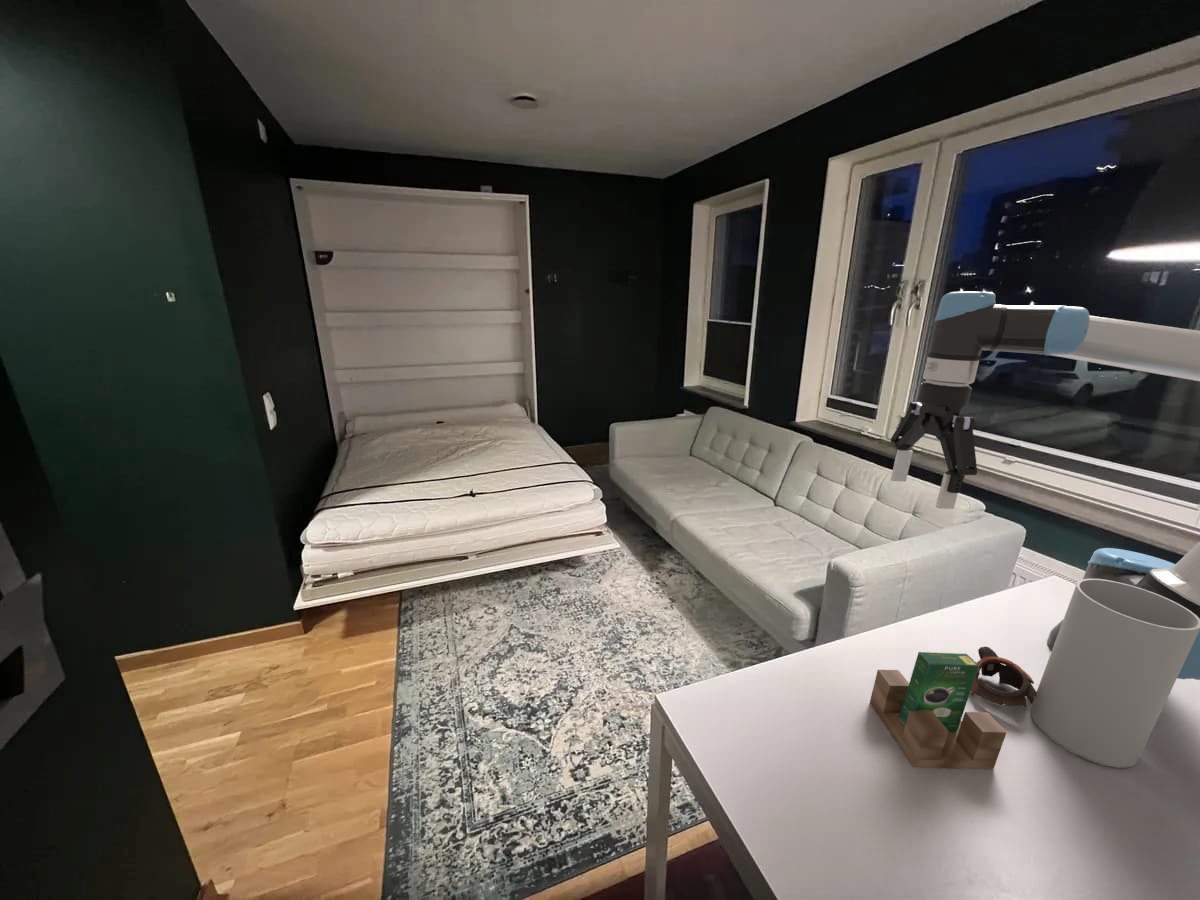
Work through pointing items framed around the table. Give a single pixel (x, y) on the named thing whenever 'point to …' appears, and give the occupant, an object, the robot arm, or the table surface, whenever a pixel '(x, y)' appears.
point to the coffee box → (940, 687)
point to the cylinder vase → (1112, 670)
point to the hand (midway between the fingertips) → (919, 493)
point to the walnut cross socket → (935, 730)
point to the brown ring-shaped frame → (1003, 680)
